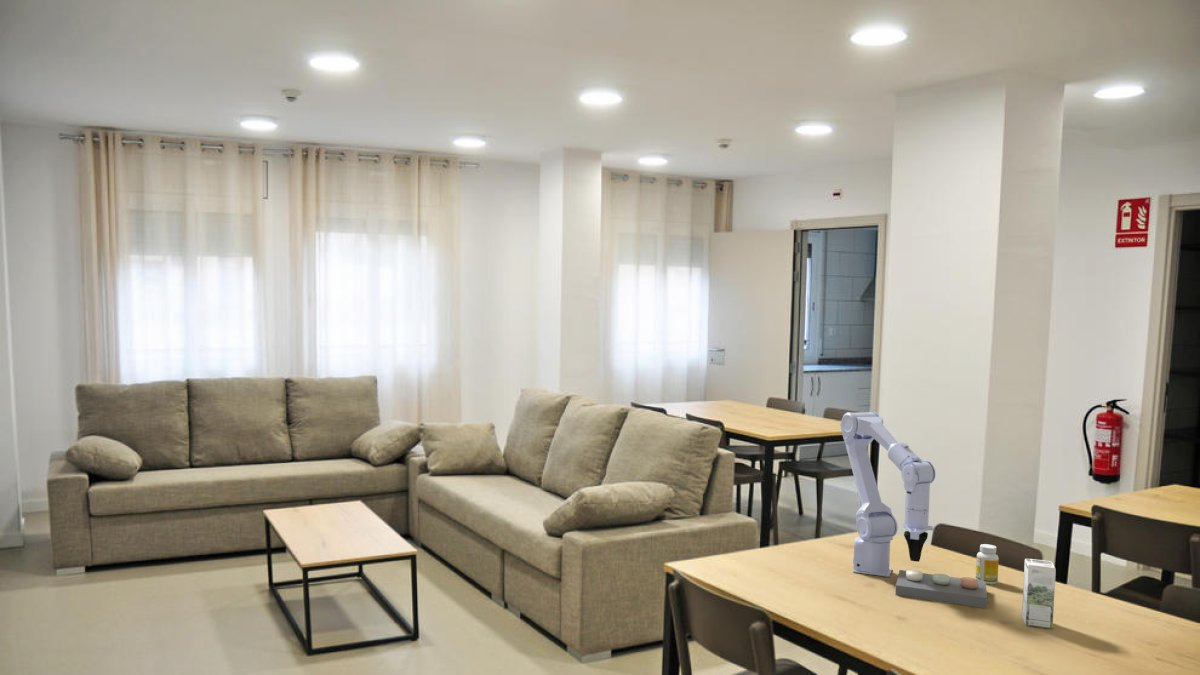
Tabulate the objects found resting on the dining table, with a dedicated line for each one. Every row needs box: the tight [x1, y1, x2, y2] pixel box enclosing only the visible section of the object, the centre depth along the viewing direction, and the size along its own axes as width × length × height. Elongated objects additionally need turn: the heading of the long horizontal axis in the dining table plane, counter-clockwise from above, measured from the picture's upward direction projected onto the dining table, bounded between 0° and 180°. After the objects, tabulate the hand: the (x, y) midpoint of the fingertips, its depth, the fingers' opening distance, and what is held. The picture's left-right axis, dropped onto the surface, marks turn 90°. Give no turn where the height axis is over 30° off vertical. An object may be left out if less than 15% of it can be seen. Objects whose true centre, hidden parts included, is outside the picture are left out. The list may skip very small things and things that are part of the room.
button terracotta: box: [960, 576, 978, 589], centre depth 215 cm, size 4×4×4 cm
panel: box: [895, 569, 988, 609], centre depth 217 cm, size 21×14×2 cm, turn 67°
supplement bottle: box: [975, 543, 1000, 585], centre depth 228 cm, size 5×5×10 cm
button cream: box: [905, 569, 924, 582], centre depth 220 cm, size 4×4×4 cm
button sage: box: [933, 573, 951, 586], centre depth 217 cm, size 4×4×4 cm
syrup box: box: [1021, 558, 1057, 630], centre depth 197 cm, size 6×6×14 cm
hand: (914, 560), depth 220 cm, fingers closed
